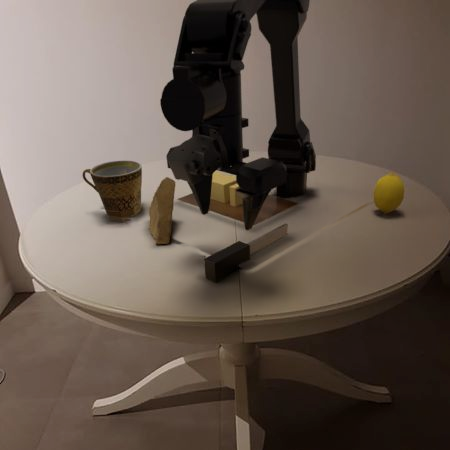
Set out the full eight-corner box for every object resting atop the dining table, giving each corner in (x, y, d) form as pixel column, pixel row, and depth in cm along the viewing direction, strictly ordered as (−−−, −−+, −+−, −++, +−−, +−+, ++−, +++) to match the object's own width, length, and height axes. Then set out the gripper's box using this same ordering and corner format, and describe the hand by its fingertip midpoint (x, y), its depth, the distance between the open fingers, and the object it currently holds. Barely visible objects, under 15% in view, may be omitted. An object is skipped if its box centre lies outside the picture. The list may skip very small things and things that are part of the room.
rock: (179, 237, 81) (200, 208, 88) (145, 199, 78) (169, 173, 85) (143, 261, 88) (165, 233, 95) (110, 228, 85) (135, 201, 92)
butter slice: (246, 198, 99) (246, 179, 97) (251, 199, 98) (251, 181, 96) (230, 205, 96) (229, 186, 94) (235, 207, 95) (234, 188, 93)
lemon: (367, 209, 94) (372, 169, 89) (394, 207, 94) (400, 167, 89) (376, 220, 89) (382, 179, 85) (405, 217, 89) (412, 176, 85)
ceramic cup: (156, 208, 99) (150, 161, 94) (134, 228, 91) (125, 177, 86) (103, 203, 103) (94, 158, 98) (77, 222, 95) (66, 173, 90)
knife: (215, 283, 72) (214, 263, 70) (205, 278, 74) (203, 258, 72) (291, 240, 83) (292, 222, 81) (281, 237, 85) (281, 219, 83)
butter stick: (214, 188, 105) (213, 171, 103) (241, 196, 100) (240, 178, 98) (198, 195, 102) (197, 177, 100) (224, 203, 97) (223, 184, 95)
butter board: (222, 185, 109) (222, 181, 109) (298, 207, 96) (299, 203, 95) (177, 203, 101) (176, 199, 101) (253, 230, 88) (253, 225, 87)
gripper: (129, 116, 63) (146, 222, 72) (228, 136, 52) (234, 259, 61) (190, 101, 70) (199, 201, 78) (290, 116, 58) (287, 230, 67)
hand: (226, 221), depth 71 cm, fingers open, 9 cm apart
